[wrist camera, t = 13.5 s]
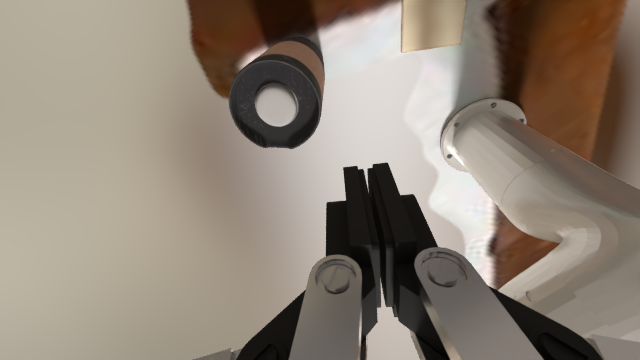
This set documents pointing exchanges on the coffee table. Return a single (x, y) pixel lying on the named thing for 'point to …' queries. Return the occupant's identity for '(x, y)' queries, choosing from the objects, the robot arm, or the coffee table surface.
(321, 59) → the travel mug
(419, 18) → the board
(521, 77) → the coffee table surface
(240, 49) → the coffee table surface
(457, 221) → the coffee table surface
